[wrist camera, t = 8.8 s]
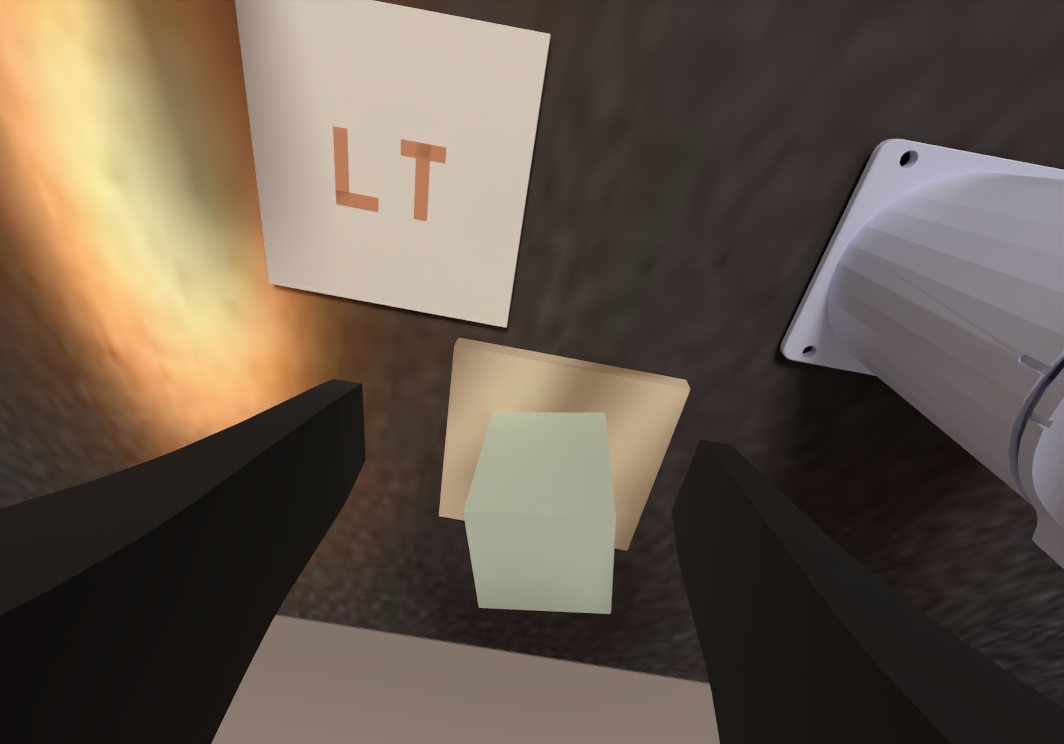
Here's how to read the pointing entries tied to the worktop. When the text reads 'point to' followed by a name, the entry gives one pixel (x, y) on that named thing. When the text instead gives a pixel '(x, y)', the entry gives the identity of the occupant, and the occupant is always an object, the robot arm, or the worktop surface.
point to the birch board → (560, 386)
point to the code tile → (392, 150)
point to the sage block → (543, 513)
